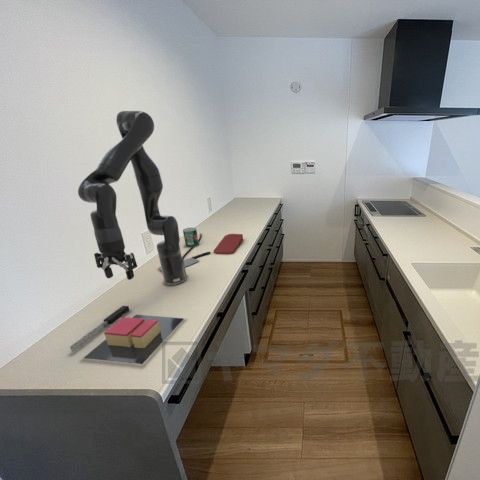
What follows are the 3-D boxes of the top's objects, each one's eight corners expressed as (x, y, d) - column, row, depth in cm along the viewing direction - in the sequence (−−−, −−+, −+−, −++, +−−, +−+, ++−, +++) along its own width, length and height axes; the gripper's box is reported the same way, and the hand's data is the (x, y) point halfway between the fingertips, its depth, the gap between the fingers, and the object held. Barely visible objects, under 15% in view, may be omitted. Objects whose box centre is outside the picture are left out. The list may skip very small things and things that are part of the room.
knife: (124, 311, 106) (122, 305, 105) (130, 311, 106) (128, 305, 105) (69, 353, 85) (66, 346, 84) (76, 354, 85) (73, 347, 84)
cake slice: (151, 331, 94) (148, 319, 92) (160, 331, 94) (157, 319, 92) (134, 347, 87) (130, 334, 85) (144, 348, 86) (140, 335, 84)
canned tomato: (184, 245, 172) (181, 229, 168) (196, 242, 177) (194, 226, 173) (187, 248, 166) (184, 232, 162) (200, 245, 171) (198, 229, 167)
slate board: (136, 316, 103) (135, 314, 103) (184, 320, 101) (184, 318, 101) (84, 360, 83) (83, 358, 82) (143, 366, 81) (142, 364, 80)
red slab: (233, 259, 161) (245, 239, 183) (232, 252, 159) (244, 232, 180) (214, 258, 161) (228, 238, 183) (212, 251, 159) (227, 232, 181)
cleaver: (217, 256, 156) (208, 251, 162) (217, 255, 156) (208, 251, 162) (165, 274, 135) (157, 268, 140) (165, 273, 134) (157, 267, 140)
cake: (126, 328, 95) (123, 317, 93) (147, 330, 94) (144, 318, 92) (108, 345, 88) (103, 332, 86) (130, 347, 87) (126, 334, 85)
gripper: (135, 235, 98) (144, 274, 103) (100, 234, 99) (111, 272, 104) (119, 242, 91) (130, 284, 96) (81, 240, 92) (94, 281, 97)
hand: (120, 278), depth 100 cm, fingers open, 8 cm apart
